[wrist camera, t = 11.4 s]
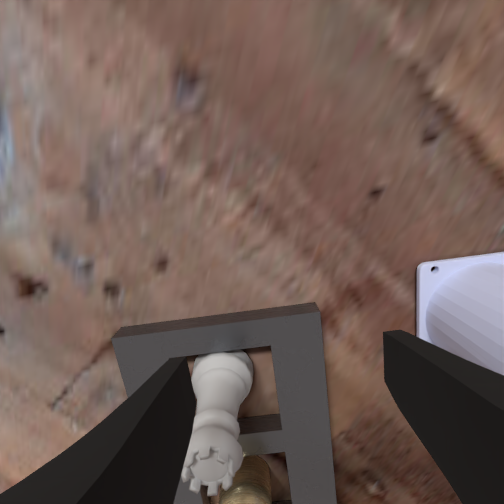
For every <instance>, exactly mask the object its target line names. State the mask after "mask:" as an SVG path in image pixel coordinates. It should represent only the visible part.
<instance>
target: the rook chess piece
mask: <svg viewBox="0 0 504 504" xmlns="http://www.w3.org/2000/svg"><path fill="white" fill-rule="evenodd" d="M253 374H254V371H253V365H252V361H251V360H250V358H249V357H248V355H247V354H246V353H245V352H243V351H242V350H240V349H238V350H231V351H223V352H215V353H207V354H199V356H198V357H197V358H196V359H195V363H194V367H193V373H192V377H191V379H192V385H193V390H194V393H195V395H196V398H197V413H196V416H195V417H194V424H193V430H192V435H191V439H190V443H189V447H188V451H187V455H186V458H185V462H184V466H183V470H182V473H181V477H182V480H183V483H184V482H187V481H189V478H190V479H191V481H190V486H189V490H190V491H192V492H194V493H196V494H198V492H199V491H200V486H201V485H205V486H208V493H207V496H215V495H218V486H219V485H220V484H222V483H223V484H222V488H223V489H224V490H226V491H227V490H228V489H229V488H230V487H231V486H232V483H233V477H235V472H236V471H237V470H238V469H239V468H240V467H241V464H242V461H243V452H242V447H241V446H240V444H239V443H238V442H237V440H238V437H239V433H240V428H239V423H238V422H237V415H238V411H239V407H240V404H241V403H242V402H243V401H244V399H245V398H246V397H247V395H248V394H249V392H250V389H251V386H252V382H253V378H252V377H253Z"/></svg>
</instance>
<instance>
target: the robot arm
mask: <svg viewBox="0 0 504 504" xmlns="http://www.w3.org/2000/svg"><path fill="white" fill-rule="evenodd" d="M434 266H435V269H434V271H432V272H431V268H432V267H434ZM383 345H384V379H385V383H386V385H387V387H388V389H389V391H390V393H391V395H392V397H393V398H394V400H395V402H396V404H397V406H398V408H399V409H400V411H401V412H402V414H403V415H404V417H405V418H406V420H407V421H408V423H409V424H410V426H411V427H412V429H413V430H414V432H415V433H416V435H417V436H418V437H419V439H420V440H421V442H422V443H423V445H424V446H425V448H426V449H427V451H428V452H429V453H430V455H431V456H432V458H433V459H434V461H435V462H436V464H437V465H438V467H439V468H440V469H441V471H442V472H443V474H444V475H445V477H446V478H447V480H448V481H449V483H450V485H451V486H452V488H453V489H454V491H455V492H456V494H457V495H458V497H459V499H460V501H461V502H462V504H504V252H499V253H491V254H483V255H476V256H468V257H461V258H453V259H445V260H438V261H430V262H423V263H421V264H420V265H419V266H418V267H417V337H416V336H414V335H412V334H410V333H407V332H405V331H402V330H395V331H387V332H383ZM195 409H196V400H195V395H194V391H193V386H192V382H191V377H190V373H189V368H188V363H187V359H186V357H179V358H171V359H169V360H168V361H166V362H165V363H164V364H163V365H162V366H161V367H160V368H159V369H158V370H157V371H156V372H155V373H154V374H153V375H152V376H151V377H150V378H149V379H148V380H147V381H146V382H145V383H144V384H142V385H141V386H140V387H139V388H138V389H137V390H136V391H135V392H134V393H133V394H132V395H131V396H130V397H129V398H128V399H127V400H126V401H124V402H123V403H122V404H121V405H120V406H119V407H118V408H117V409H115V410H114V411H113V412H112V413H111V414H110V415H109V416H108V417H106V418H105V419H104V420H103V421H102V422H101V423H99V424H98V425H97V426H96V427H95V428H93V429H92V430H91V431H90V432H88V433H87V434H86V435H85V436H83V437H82V438H81V439H79V440H78V441H77V442H76V443H74V444H73V445H72V446H70V447H69V448H68V449H66V450H65V451H64V452H62V453H61V454H59V455H58V456H57V457H55V458H54V459H52V460H51V461H49V462H48V463H46V464H45V465H44V466H42V467H41V468H39V469H38V470H36V471H35V472H33V473H32V474H30V475H29V476H28V477H26V478H25V479H23V480H22V481H20V482H19V483H17V484H16V485H14V486H12V487H11V488H9V489H8V490H6V491H5V492H3V493H1V494H0V504H173V503H174V499H175V496H176V492H177V488H178V485H179V481H180V477H181V473H182V470H183V466H184V462H185V458H186V455H187V451H188V447H189V443H190V439H191V435H192V430H193V424H194V417H195Z"/></svg>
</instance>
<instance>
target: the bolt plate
mask: <svg viewBox="0 0 504 504" xmlns="http://www.w3.org/2000/svg"><path fill="white" fill-rule="evenodd" d="M111 340H112V343H113V347H114V350H115V354H116V357H117V361H118V365H119V368H120V372H121V375H122V379H123V382H124V386H125V389H126V393H127V396H128V398H129V397H130V396H131V395H132V394H133V393H134V392H135V391H136V390H137V389H138V388H139V387H140V386H141V385H142V384H144V383H145V382H146V381H147V380H148V379H149V378H150V377H151V376H152V375H153V374H154V373H155V372H156V371H157V370H158V369H159V368H160V367H161V366H162V365H163V364H164V363H165V362H166V361H168V360H169V359H171V358H177V357H183V356H191V355H199V354H207V353H215V352H223V351H231V350H238V349H246V348H254V347H262V346H270V345H271V351H272V359H273V366H274V373H275V381H276V388H277V395H278V403H279V410H280V414H273V415H264V416H256V417H247V418H239V419H237V422H238V423H239V428H240V433H239V437H238V440H237V442H238V443H239V444H240V446H241V447H242V452H243V461H242V464H241V467H240V468H239V469H238V470H237V471H236V472H235V477H233V483H232V486H231V487H230V488H229V489H228V490H227V491H226V490H224V489H223V488H222V484H223V483H222V484H221V486H220V496H219V504H337V501H336V490H335V478H334V467H333V455H332V443H331V432H330V420H329V409H328V397H327V386H326V374H325V362H324V351H323V339H322V328H321V316H320V311H319V309H318V307H317V305H316V303H315V302H314V303H306V304H298V305H291V306H283V307H275V308H267V309H260V310H252V311H244V312H236V313H229V314H221V315H213V316H205V317H198V318H190V319H182V320H174V321H166V322H159V323H151V324H143V325H135V326H128V327H121V328H120V329H119V330H118V331H117V333H116V334H115V335H114V336H113V337H112V338H111ZM279 452H285V454H286V462H287V469H288V476H289V484H290V491H291V499H292V500H289V501H280V502H272V498H271V484H270V470H269V467H268V465H267V463H266V462H265V461H264V460H263V459H262V458H260V457H258V456H256V455H261V454H270V453H279ZM190 481H191V479H190V478H189V481H187V482H184V483H183V480H182V477H180V481H179V485H178V488H177V492H176V496H175V499H174V503H173V504H210V500H209V496H207V493H208V491H207V486H205V485H201V486H200V491H199V492H198V494H196V493H194V492H192V491H190V490H189V486H190Z"/></svg>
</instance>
